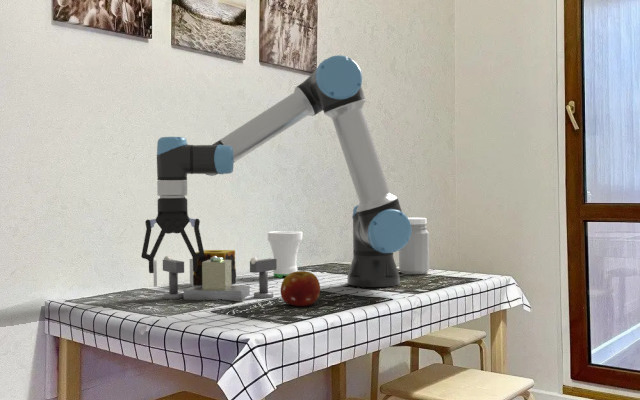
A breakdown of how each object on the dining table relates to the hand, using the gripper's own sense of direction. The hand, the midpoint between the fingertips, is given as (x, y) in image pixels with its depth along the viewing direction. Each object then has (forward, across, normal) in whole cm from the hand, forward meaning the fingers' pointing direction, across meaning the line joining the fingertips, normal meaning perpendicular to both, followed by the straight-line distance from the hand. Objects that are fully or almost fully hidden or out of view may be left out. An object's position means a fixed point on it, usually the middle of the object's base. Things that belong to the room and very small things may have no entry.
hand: (173, 285), depth 174 cm
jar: (+4, -78, -31) cm, 84 cm away
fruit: (+4, -29, +19) cm, 35 cm away
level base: (+3, -11, +2) cm, 12 cm away
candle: (+4, -12, -21) cm, 25 cm away
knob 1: (+3, 0, 0) cm, 3 cm away
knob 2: (+3, -23, +5) cm, 23 cm away
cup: (+4, -35, -34) cm, 49 cm away
